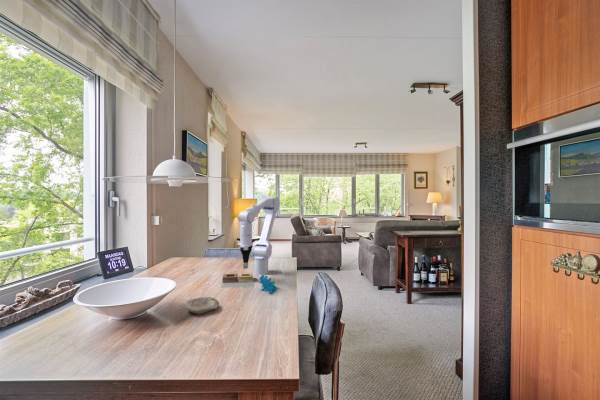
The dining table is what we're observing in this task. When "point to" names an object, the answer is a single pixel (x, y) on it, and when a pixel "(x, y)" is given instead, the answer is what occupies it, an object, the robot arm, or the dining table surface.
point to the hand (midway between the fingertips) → (245, 262)
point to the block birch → (245, 277)
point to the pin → (245, 265)
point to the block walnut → (230, 278)
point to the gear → (267, 284)
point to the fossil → (201, 305)
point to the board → (238, 284)
